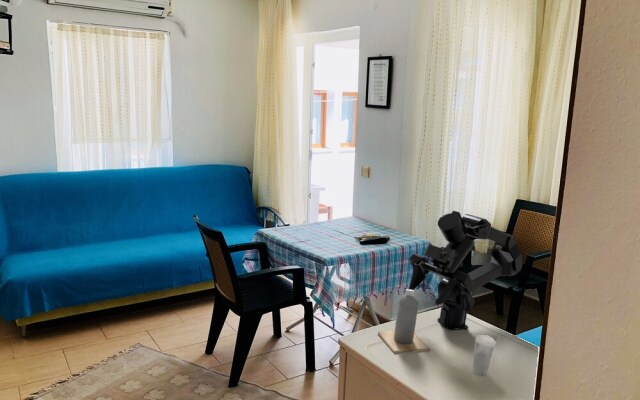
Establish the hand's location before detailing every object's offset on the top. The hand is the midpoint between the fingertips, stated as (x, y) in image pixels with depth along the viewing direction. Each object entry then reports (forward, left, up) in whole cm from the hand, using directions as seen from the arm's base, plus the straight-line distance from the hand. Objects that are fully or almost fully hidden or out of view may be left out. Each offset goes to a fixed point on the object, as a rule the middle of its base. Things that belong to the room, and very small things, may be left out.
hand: (422, 297), depth 132 cm
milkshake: (-7, +18, -12) cm, 23 cm away
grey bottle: (+5, +2, -11) cm, 12 cm away
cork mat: (+5, +2, -11) cm, 13 cm away
